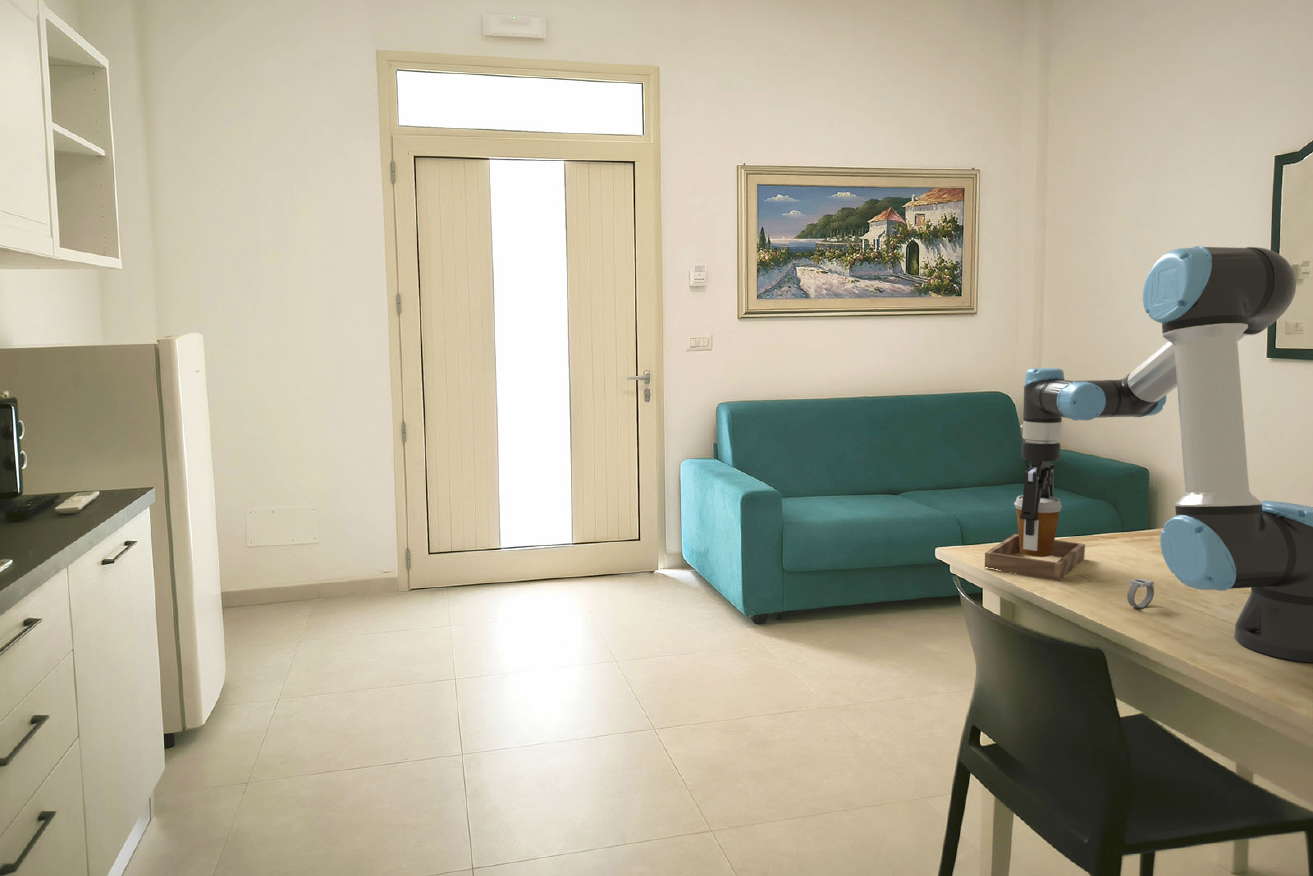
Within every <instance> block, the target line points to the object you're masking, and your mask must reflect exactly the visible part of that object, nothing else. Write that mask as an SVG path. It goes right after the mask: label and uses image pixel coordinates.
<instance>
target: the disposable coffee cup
mask: <svg viewBox="0 0 1313 876" xmlns="http://www.w3.org/2000/svg"><path fill="white" fill-rule="evenodd" d="M1022 502H1023V494H1022V495H1018V496H1017V497H1016V498H1015V501H1014V502H1013V504H1014V507H1015V509H1016V518H1017V529H1018V533H1017V534H1018V535H1019V543H1020V551H1019V552H1020V553H1021V554H1022V555H1025V556H1028V557H1029V556H1030V557H1037V558H1038V557H1039V558H1045V557H1047V558H1048V557H1050V556H1051V555H1052V550H1053V544H1054V540H1056V539H1055V538H1056V533H1057V527H1058V522H1059V517H1060V512H1061V511H1062V508H1063V505H1062V502H1061V499H1060V498H1058V497H1055V496H1054V497H1049V498H1040V502H1039V505H1038V516H1037V520H1039V525H1038V546H1037V551H1033V550H1027V549H1023V537H1024V519H1020V515H1021V512H1022ZM1028 513H1030V512H1028ZM1051 557H1052V556H1051Z"/></svg>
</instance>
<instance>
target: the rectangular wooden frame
mask: <svg viewBox="0 0 1313 876" xmlns="http://www.w3.org/2000/svg"><path fill="white" fill-rule="evenodd" d="M1017 551H1018V552H1020V543H1019V533H1017V534H1016V533H1013V535H1010V536H1009V537H1007V538H1006V539H1004V540H1003V541H1000V543H998V544H997V545H995V546H993V547H992V548H990V549H989V550H987V551H985V553H984V568H985V567H988V568H994V569H998V570H1001V571H1000V572H1002V571H1003V572H1002V573H1008V572H1012V573H1011V574H1014V573H1016V574H1015V575H1021V576H1027V577H1031V578H1032V577H1033V578H1038V579H1045V580H1051V581H1057V582H1060V581H1061V580H1062V579H1064V578H1065V577H1066V576H1067V575H1068V574H1069V573H1071V572H1072V571H1073V570H1074V569H1075V568H1076V567H1078V566H1079V564H1081V563H1082V562H1083V561H1084V560H1085V556H1086V555H1085V554H1086V553H1085V552H1086V543H1081V542H1080V543H1079V542H1073V541H1066V540H1060V539H1054V544H1053V550H1052V555H1051V557H1057V558H1058V557H1059V558H1060V559H1059V560H1058V561H1050V560H1049V561H1048V560H1043V559H1035V558H1030V557H1023V556H1017V555H1013V554H1014V553H1016V552H1017Z"/></svg>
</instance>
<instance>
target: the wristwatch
mask: <svg viewBox="0 0 1313 876" xmlns="http://www.w3.org/2000/svg"><path fill="white" fill-rule="evenodd" d="M1128 584H1129V585H1130V587H1129V588H1128V592H1127V595H1126V596H1127V597H1126V598H1127V602H1128V604H1129V605H1130V606H1131V607H1134V608H1137V609H1144V608H1146V607H1147V606H1148V605H1150V603H1151V602H1152V601H1153V598H1154V594H1155V591H1154V590H1155V589H1154V584H1155V583H1154V581H1153V580H1151V579H1150V580H1149V579H1145V578H1141V577H1140V578H1136V579H1132V580H1129V581H1128ZM1139 587H1140V588H1145V587H1146V594H1145V596H1144V598H1143V600H1142V601H1141V602H1140V603H1138V604H1136V601H1135V597H1136V592H1137V590H1138V588H1139Z"/></svg>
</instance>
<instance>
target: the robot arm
mask: <svg viewBox="0 0 1313 876" xmlns="http://www.w3.org/2000/svg"><path fill="white" fill-rule="evenodd" d="M1296 289H1297V278H1296V274H1295V272H1294V270H1293V267H1292V265H1291V263H1289V261H1288V260H1287V259H1286V258H1284V256H1282V255H1281V254H1280V253H1277V252H1275V251H1273V250H1271V249H1268V248H1264V247H1257V246H1251V247H1250V246H1247V247H1225V246H1224V247H1222V246H1221V247H1220V246H1218V247H1216V246H1201V245H1199V246H1198V245H1197V246H1194V247H1193V246H1192V247H1186V248H1185V247H1183V248H1176V249H1173V250H1170V251H1168V252H1166V253H1165V254H1163V255H1162V256H1161V257H1160V258H1158V259H1157V260H1156V262H1154V264H1153V265H1152V268H1151V269H1150V270H1149V272H1148V274H1147V276H1146V278H1145V281H1144V284H1143V290H1142V302H1143V303H1142V304H1143V308H1144V311H1145V313H1146V314H1148V317H1149V318H1150V319H1151V320H1153V321H1154V322H1157V323H1160V324H1161V329H1162V331H1161V332H1162V338H1164V339H1165V340H1167V341H1166V342H1165V343H1164V344H1163V345H1162V346H1161V347H1159V348H1158V349H1157V350H1156V351H1154V352H1153V353H1152V354H1151V355H1150V356H1149V357H1147V358H1146V359H1145V360H1144V361H1142V362H1141V363H1140V364H1139V365H1138V366H1136V368H1134V369H1133V370H1131V372H1130V373H1128V374H1126V376H1124V378H1121V379H1104V380H1102V379H1099V380H1098V379H1097V380H1095V379H1093V380H1067V379H1065V373H1064V371H1063V369H1061V368H1057V367H1055V368H1054V367H1034V368H1033V367H1032V368H1029V369H1027V370H1026V372H1025V378H1024V379H1025V380H1024V385H1023V412H1022V413H1023V417H1022V418H1023V421H1022V424H1021V425H1020V428H1021V429H1022V439H1024V440H1023V441H1022V442H1021V458H1022V459H1023V460H1025V461H1029V462H1030V465H1029V467H1028V469H1027V470H1024V473H1023V476H1024V482H1023V483H1024V484H1023V492H1022V495H1023V502H1022V512H1021V515H1020V519H1024V537H1023V549H1027V550H1033V551H1037V546H1038V525H1039V520H1037V516H1038V505H1039V502H1040V498H1049V497H1055V487H1054V486H1055V481H1054V480H1055V467H1056V466H1055V464H1054V463H1051V462H1056V461H1059V460H1060V458H1061V443H1060V442H1059V441H1061V440H1062V425H1063V424H1062V422H1063V421H1062V419H1063V418H1065V419H1070V420H1073V421H1090V420H1094V419H1099V418H1100V419H1101V418H1102V419H1103V418H1128V417H1129V418H1132V417H1133V418H1143V417H1149V416H1155V415H1157V414H1159V413H1161V411H1162V410H1163V409H1164V406H1165V405H1166V402H1167V395H1168V394H1170V393H1171V392H1172V391H1174V390H1175V389H1176V388H1177V399H1178V401H1177V402H1178V413H1179V426H1180V439H1181V440H1180V441H1181V453H1182V465H1183V466H1182V469H1183V470H1182V471H1183V481H1184V494H1183V496H1181V497H1180V499H1178V501H1177V502H1175V504H1174V505H1175V507H1174V508H1175V516H1172V517H1171V518H1170V519H1168V520H1167V521H1166V522H1164V525H1163V529H1161V533H1160V538H1159V541H1160V550H1161V554H1162V557H1163V560H1164V562H1165V564H1166V566H1167V567H1168V569H1169V571H1170V572H1171V573H1172V574H1174V576H1175V577H1176V578H1177V580H1179V582H1181V583H1182V584H1183V585H1185V586H1187V587H1189V588H1193V589H1195V590H1201V591H1203V590H1205V591H1206V590H1207V591H1209V590H1210V591H1211V590H1213V591H1218V592H1219V591H1220V592H1223V591H1224V592H1225V591H1227V590H1231V589H1232V590H1233V589H1234V590H1235V589H1249V588H1250V595H1249V596H1248V598H1247V600H1246V602H1245V603H1244V606H1243V608H1242V609H1241V612H1240V613H1239V616H1238V618H1237V620H1236V621H1235V622H1236V623H1235V625H1234V634H1233V635H1234V639H1235V641H1237V642H1238V644H1240V645H1243V647H1245V648H1248V649H1250V650H1252V651H1255V652H1258V653H1261V654H1264V655H1267V656H1271V657H1274V658H1275V657H1276V658H1279V659H1284V660H1288V661H1290V660H1291V661H1295V662H1302V663H1303V662H1304V663H1313V506H1310V505H1304V504H1298V503H1291V502H1287V501H1286V502H1285V501H1276V500H1262V501H1261V500H1260V499H1259V498H1257V497H1256V496H1255V495H1253V493H1252V492H1251V491H1250V483H1249V473H1248V472H1249V471H1248V460H1247V458H1248V457H1247V448H1246V447H1247V445H1246V434H1245V433H1246V432H1245V421H1244V410H1243V409H1244V407H1243V395H1242V383H1241V370H1240V356H1239V355H1240V354H1239V347H1238V346H1239V345H1238V343H1239V341H1240V340H1242V339H1243V338H1245V336H1255V335H1259V334H1260V333H1261V332H1263V331H1264V330H1266V329H1267V328H1268V327H1270V326H1271V325H1273V324H1274V323H1275V322H1276V321H1277V320H1279V318H1280V317H1281V316H1283V315H1284V314H1285V313H1286V311H1287V309H1288V308H1289V307H1290V306H1291V304H1292V302H1293V300H1294V297H1295V296H1296V295H1295V294H1296ZM1028 512H1030V513H1028Z"/></svg>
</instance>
